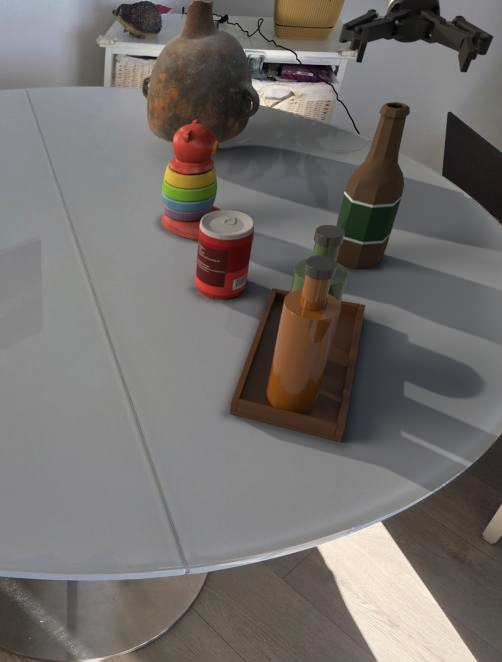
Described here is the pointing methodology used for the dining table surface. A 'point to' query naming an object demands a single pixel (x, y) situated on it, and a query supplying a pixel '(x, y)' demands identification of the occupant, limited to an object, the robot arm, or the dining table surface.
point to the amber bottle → (304, 339)
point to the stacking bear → (190, 180)
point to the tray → (335, 383)
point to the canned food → (223, 253)
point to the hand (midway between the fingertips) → (413, 57)
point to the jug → (200, 80)
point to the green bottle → (327, 245)
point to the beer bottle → (373, 194)
